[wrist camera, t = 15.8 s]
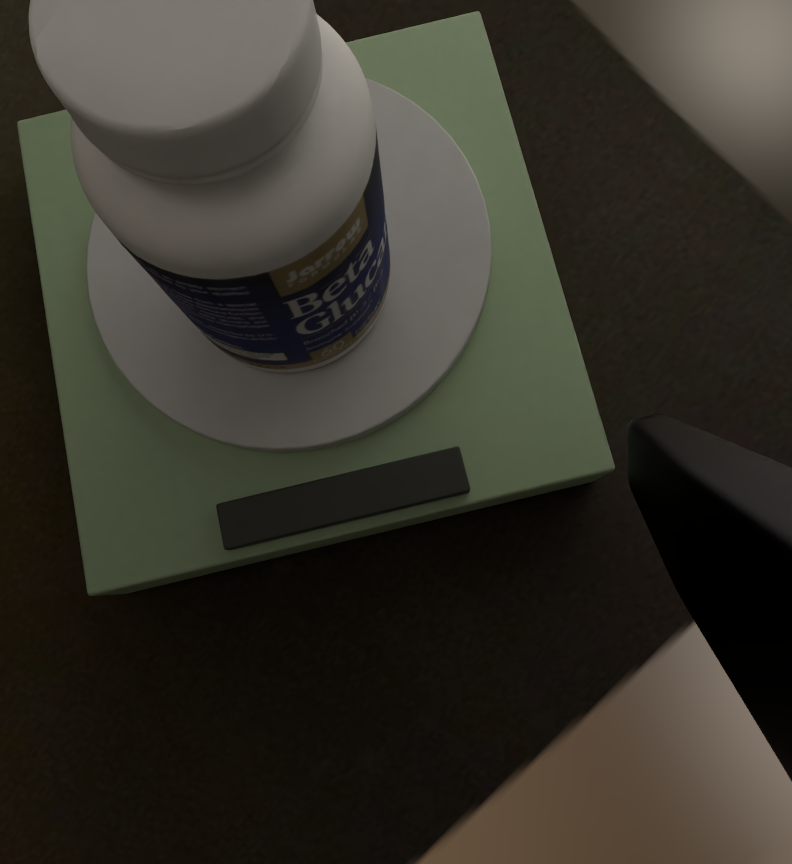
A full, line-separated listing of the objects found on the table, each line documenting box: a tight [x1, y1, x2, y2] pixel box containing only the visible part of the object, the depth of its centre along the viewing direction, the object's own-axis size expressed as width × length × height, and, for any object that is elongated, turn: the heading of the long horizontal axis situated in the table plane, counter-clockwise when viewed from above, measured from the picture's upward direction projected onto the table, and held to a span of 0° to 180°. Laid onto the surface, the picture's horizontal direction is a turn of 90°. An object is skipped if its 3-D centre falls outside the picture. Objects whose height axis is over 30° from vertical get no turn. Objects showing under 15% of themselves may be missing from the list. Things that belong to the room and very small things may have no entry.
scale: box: [17, 12, 615, 596], centre depth 21 cm, size 14×14×3 cm
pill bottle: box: [29, 0, 391, 372], centre depth 15 cm, size 5×5×10 cm
